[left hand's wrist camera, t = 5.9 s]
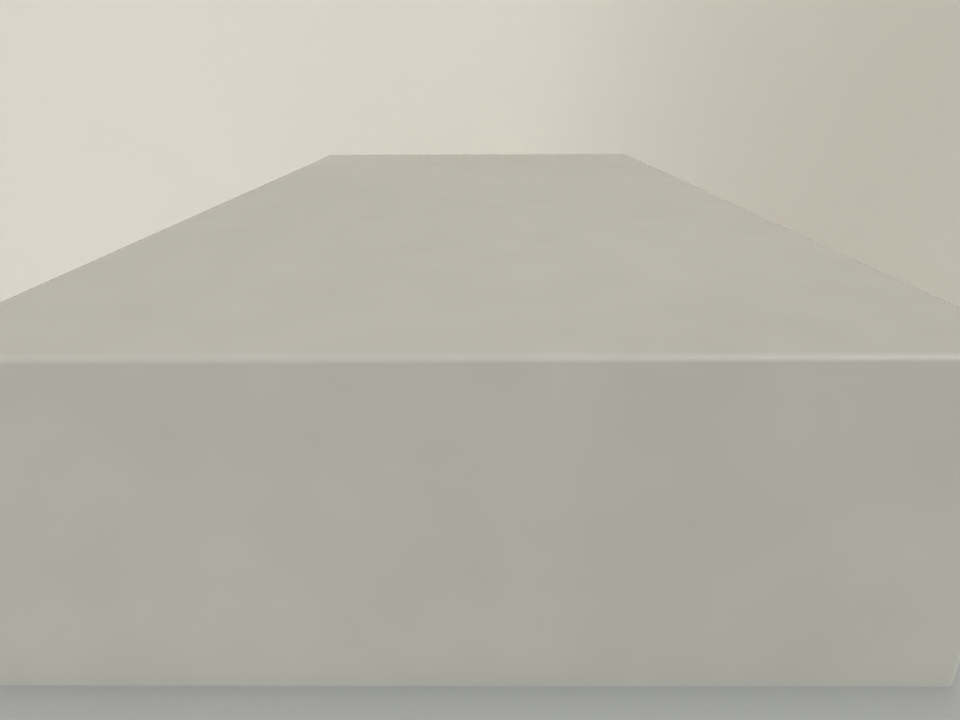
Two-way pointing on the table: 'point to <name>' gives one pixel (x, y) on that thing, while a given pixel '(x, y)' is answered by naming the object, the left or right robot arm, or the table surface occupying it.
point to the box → (479, 443)
